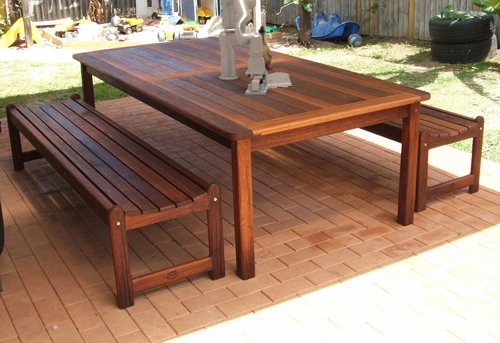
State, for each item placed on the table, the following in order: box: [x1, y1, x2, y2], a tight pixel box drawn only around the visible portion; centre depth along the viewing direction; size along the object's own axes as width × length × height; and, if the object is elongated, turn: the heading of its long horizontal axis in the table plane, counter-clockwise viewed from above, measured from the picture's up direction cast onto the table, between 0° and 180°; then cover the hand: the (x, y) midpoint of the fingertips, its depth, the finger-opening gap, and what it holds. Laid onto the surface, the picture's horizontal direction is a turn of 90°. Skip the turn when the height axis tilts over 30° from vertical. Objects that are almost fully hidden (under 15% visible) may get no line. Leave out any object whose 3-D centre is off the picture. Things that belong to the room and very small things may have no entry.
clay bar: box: [250, 75, 261, 91], centre depth 427 cm, size 16×4×6 cm, turn 173°
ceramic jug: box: [257, 25, 273, 70], centre depth 493 cm, size 17×15×30 cm
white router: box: [264, 71, 293, 90], centre depth 440 cm, size 17×5×10 cm, turn 108°
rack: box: [244, 79, 269, 96], centre depth 427 cm, size 18×12×6 cm, turn 173°
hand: (256, 84), depth 427 cm, fingers closed on clay bar, 4 cm apart
